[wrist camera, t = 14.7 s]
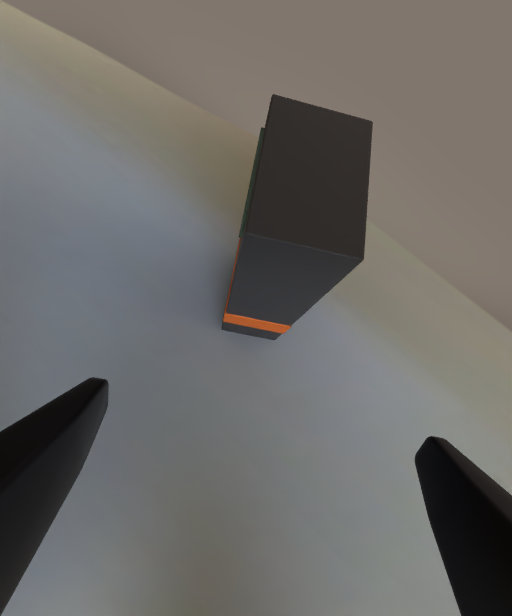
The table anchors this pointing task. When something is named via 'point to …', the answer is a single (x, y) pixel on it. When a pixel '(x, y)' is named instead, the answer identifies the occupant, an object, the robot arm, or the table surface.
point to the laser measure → (299, 216)
